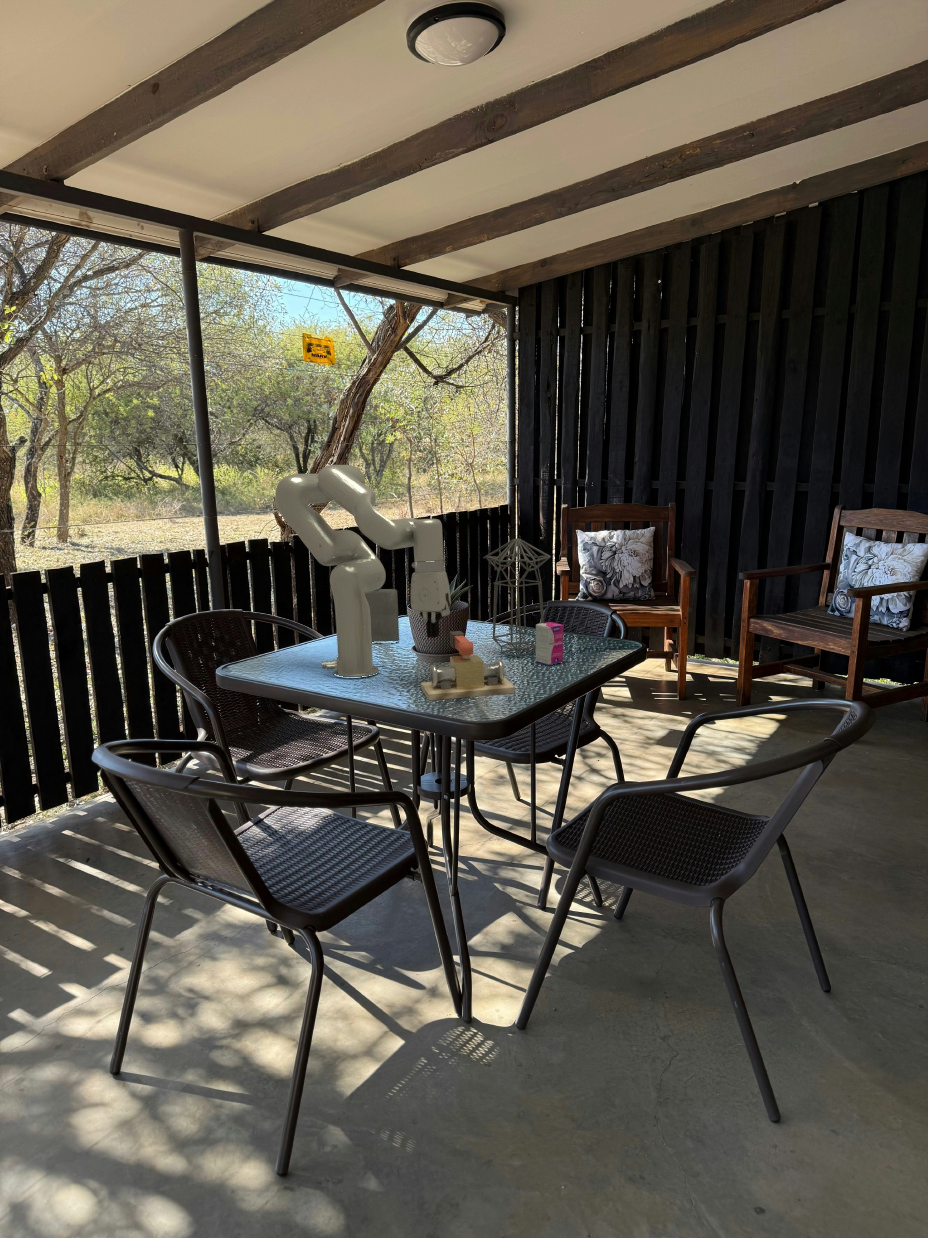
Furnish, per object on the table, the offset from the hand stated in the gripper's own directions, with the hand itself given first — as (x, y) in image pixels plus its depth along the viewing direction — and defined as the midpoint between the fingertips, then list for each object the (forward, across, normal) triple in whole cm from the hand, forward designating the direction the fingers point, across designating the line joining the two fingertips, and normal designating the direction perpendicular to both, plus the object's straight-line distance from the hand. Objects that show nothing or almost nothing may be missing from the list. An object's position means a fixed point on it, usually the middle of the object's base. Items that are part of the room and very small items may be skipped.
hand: (433, 636), depth 210 cm
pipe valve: (+13, +12, -2) cm, 17 cm away
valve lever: (+4, +7, +2) cm, 9 cm away
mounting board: (+13, +12, -2) cm, 17 cm away
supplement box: (+13, +16, +34) cm, 40 cm away
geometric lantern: (+13, +2, +41) cm, 43 cm away
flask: (+12, -48, +34) cm, 60 cm away
